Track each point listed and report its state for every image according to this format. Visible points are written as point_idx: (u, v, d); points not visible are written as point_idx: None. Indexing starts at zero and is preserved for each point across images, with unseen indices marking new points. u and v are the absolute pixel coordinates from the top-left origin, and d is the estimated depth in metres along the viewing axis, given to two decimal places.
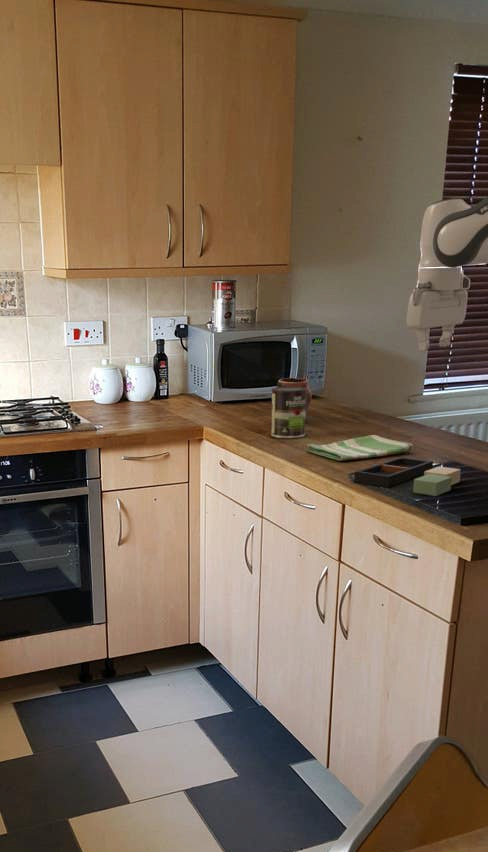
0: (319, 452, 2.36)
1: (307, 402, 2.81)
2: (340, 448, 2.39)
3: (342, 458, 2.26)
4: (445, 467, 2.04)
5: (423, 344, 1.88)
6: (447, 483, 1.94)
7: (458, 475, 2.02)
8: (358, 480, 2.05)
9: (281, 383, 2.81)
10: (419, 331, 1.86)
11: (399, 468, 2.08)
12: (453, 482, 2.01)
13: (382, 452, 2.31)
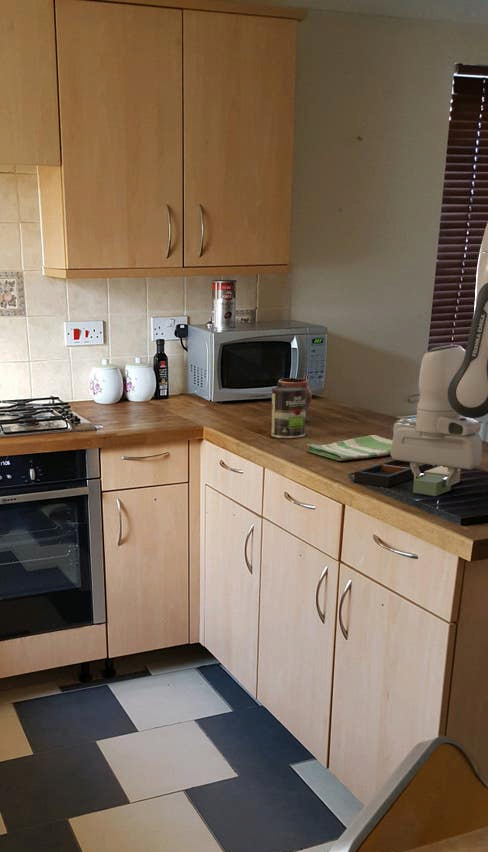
0: (319, 452, 2.36)
1: (307, 402, 2.81)
2: (340, 448, 2.39)
3: (342, 458, 2.26)
4: (445, 467, 2.04)
5: None
6: None
7: (458, 475, 2.02)
8: (358, 480, 2.05)
9: (281, 383, 2.81)
10: None
11: (399, 468, 2.08)
12: (453, 482, 2.01)
13: (382, 452, 2.31)
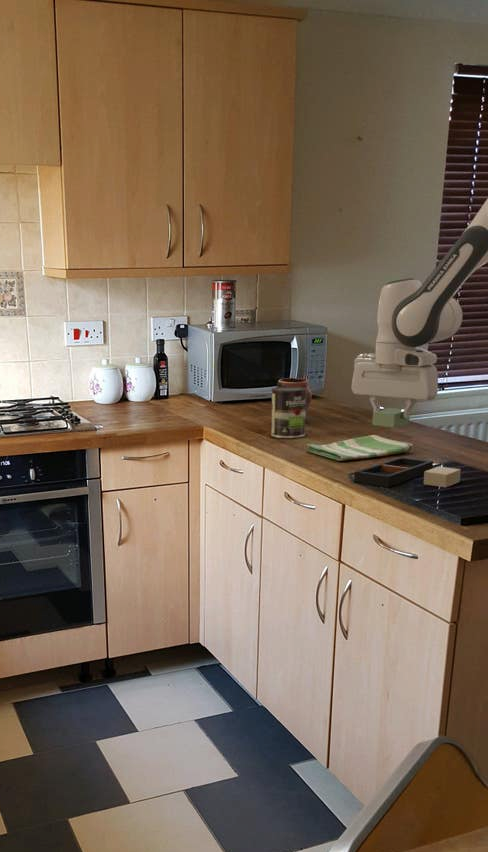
0: (319, 452, 2.36)
1: (307, 402, 2.81)
2: (340, 448, 2.39)
3: (342, 458, 2.26)
4: (445, 467, 2.04)
5: None
6: None
7: (458, 475, 2.02)
8: (358, 480, 2.05)
9: (281, 383, 2.81)
10: None
11: (399, 468, 2.08)
12: (453, 482, 2.01)
13: (382, 452, 2.31)
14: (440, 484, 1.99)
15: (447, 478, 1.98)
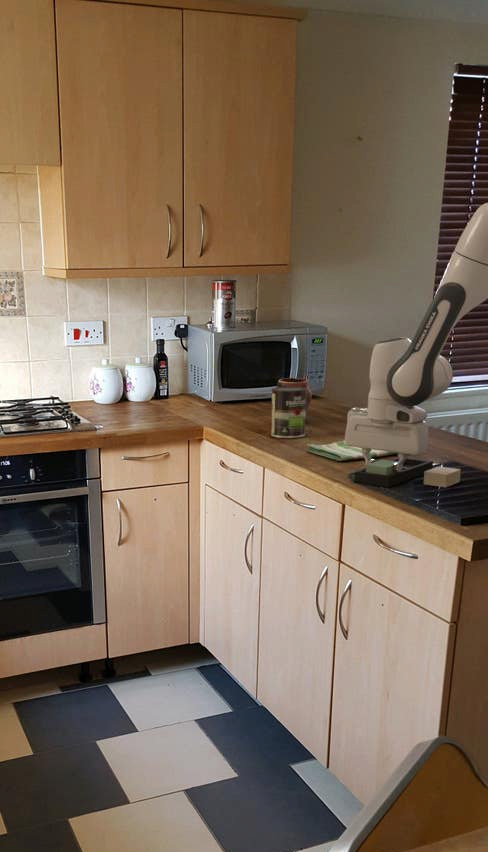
0: (319, 452, 2.36)
1: (307, 402, 2.81)
2: (340, 448, 2.39)
3: (342, 458, 2.26)
4: (445, 467, 2.04)
5: None
6: None
7: (458, 475, 2.02)
8: (358, 480, 2.05)
9: (281, 383, 2.81)
10: None
11: None
12: (453, 482, 2.01)
13: (382, 452, 2.31)
14: (440, 484, 1.99)
15: (447, 478, 1.98)
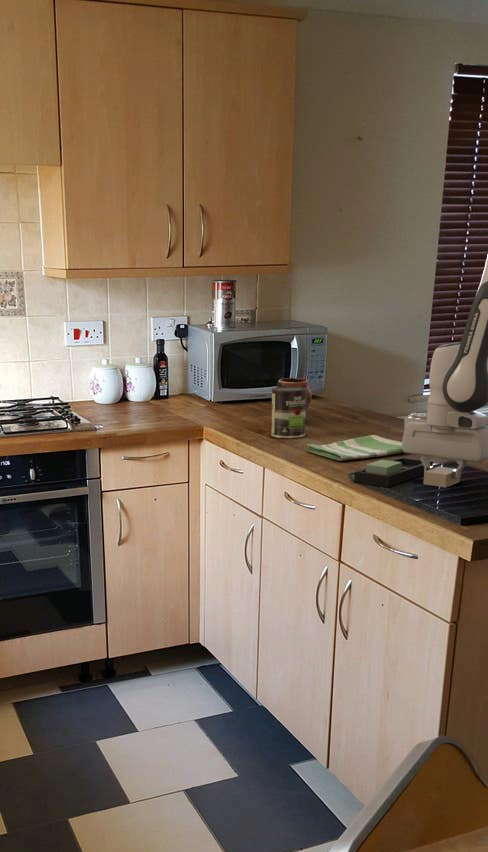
0: (319, 452, 2.36)
1: (307, 402, 2.81)
2: (340, 448, 2.39)
3: (342, 458, 2.26)
4: (445, 467, 2.04)
5: None
6: (397, 468, 2.05)
7: None
8: (358, 480, 2.05)
9: (281, 383, 2.81)
10: None
11: None
12: (453, 482, 2.01)
13: (382, 452, 2.31)
14: (440, 484, 1.99)
15: (447, 478, 1.98)
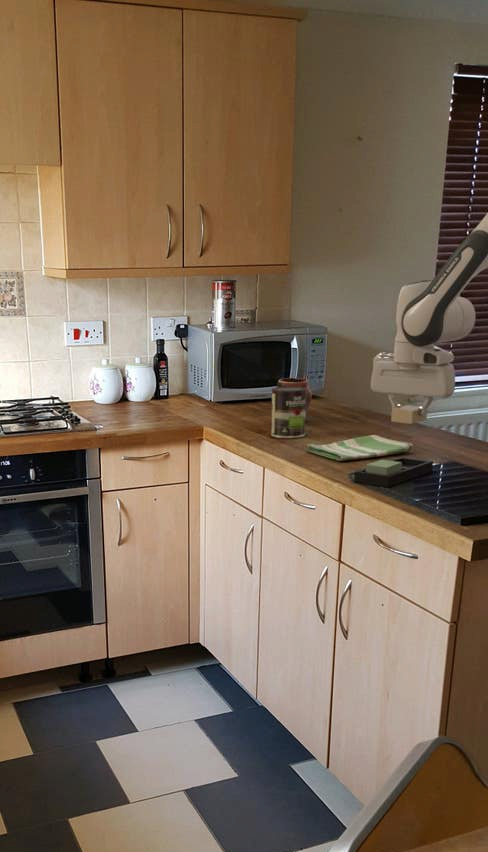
0: (319, 452, 2.36)
1: (307, 402, 2.81)
2: (340, 448, 2.39)
3: (342, 458, 2.26)
4: (412, 406, 2.10)
5: None
6: (397, 468, 2.05)
7: None
8: (358, 480, 2.05)
9: (281, 383, 2.81)
10: None
11: None
12: (420, 419, 2.07)
13: (382, 452, 2.31)
14: (407, 421, 2.05)
15: (414, 414, 2.04)
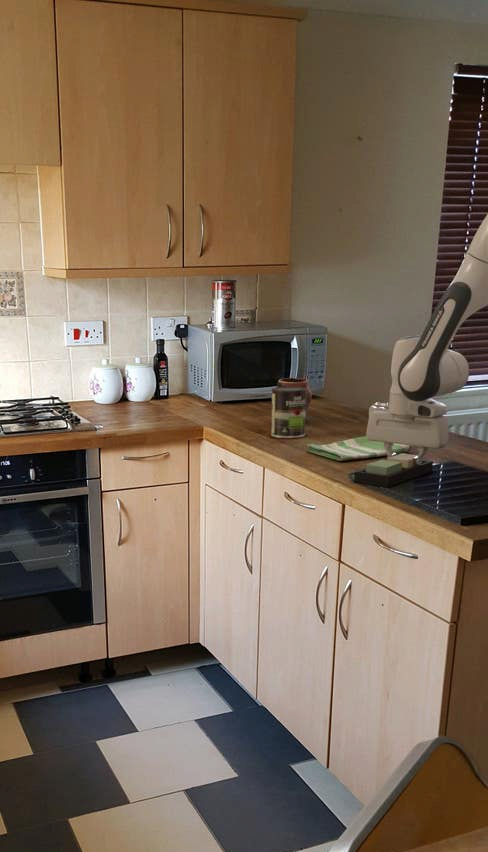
0: (319, 452, 2.36)
1: (307, 402, 2.81)
2: (340, 448, 2.39)
3: (342, 458, 2.26)
4: (407, 454, 2.15)
5: None
6: (397, 468, 2.05)
7: None
8: (358, 480, 2.05)
9: (281, 383, 2.81)
10: None
11: None
12: None
13: (382, 452, 2.31)
14: None
15: (408, 463, 2.08)
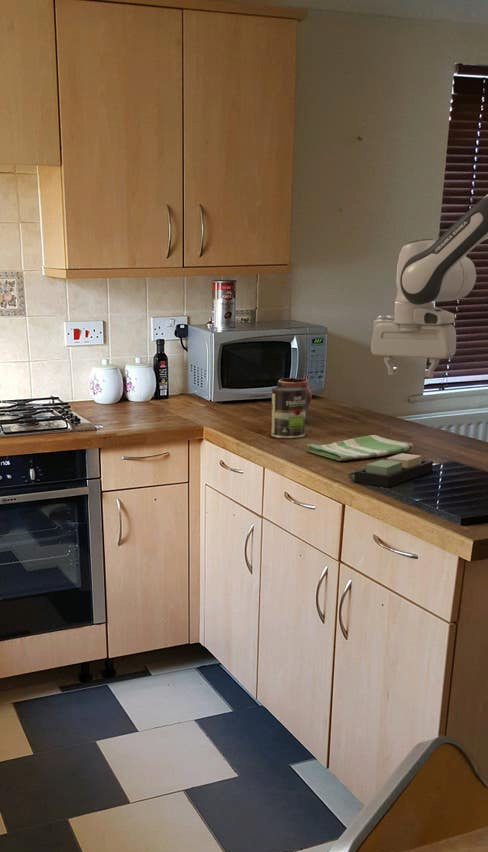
0: (319, 452, 2.36)
1: (307, 402, 2.81)
2: (340, 448, 2.39)
3: (342, 458, 2.26)
4: (407, 454, 2.15)
5: None
6: (397, 468, 2.05)
7: (419, 461, 2.12)
8: (358, 480, 2.05)
9: (281, 383, 2.81)
10: None
11: None
12: None
13: (382, 452, 2.31)
14: None
15: (408, 463, 2.09)
